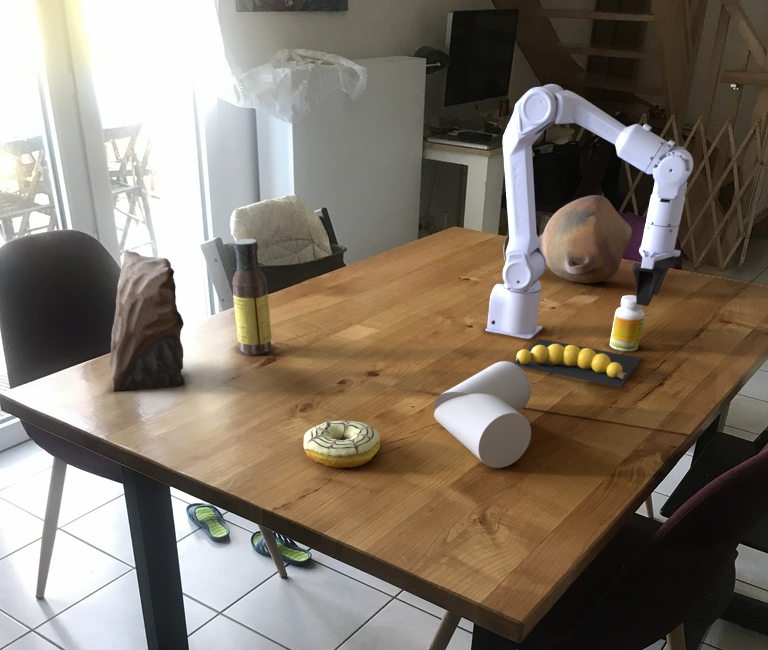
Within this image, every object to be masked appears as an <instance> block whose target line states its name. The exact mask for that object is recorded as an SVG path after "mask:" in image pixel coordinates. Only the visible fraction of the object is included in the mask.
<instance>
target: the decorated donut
mask: <svg viewBox="0 0 768 650" xmlns="http://www.w3.org/2000/svg"><path fill="white" fill-rule="evenodd" d="M380 439H381V438H380V432H379V431H377V429H376V428H374V427H373V426H371V425H369V424H367V423H366V422H363V421H356V420H355V421H353V420H330V421H325V422H323V423H321V424H318V425H315V426H313V427H312V428H310V429H309V430H307V431H306V432H305V434H304V435H303V449H304V452H305V454H306V456H307V457H308V458H310V459H311V460H314V461H315V463H319V464H321V465H322V464H323V465H324V466H326V467H331V468H337V469H343V468H356V467H359V466H363V465H365V464H367V463H368V462H370V461H371V460H372V459H373V458H374V456H375V455H376V454H377V453H378V451H379V449H380V446H381V445H380V444H381V440H380Z"/></svg>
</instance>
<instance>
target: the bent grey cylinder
mask: <svg viewBox="0 0 768 650" xmlns="http://www.w3.org/2000/svg"><path fill="white" fill-rule="evenodd" d="M530 381H531V380H530V379H529V376H528V374H526V372H525V371H524V369H522V367H519V366H518V365H516V364H514V362H511V361H506V360H504V361H503V360H502V361H498V362H495V363H493V364H492V365H490V366H488V367H486V368H485V369H483V370H481V371H479V372H477V373H476V374H474V375H472V376H471V377H468V378H466V379H465V380H464V381H462V382H460V383H458V384H456V385H455V386H453V387H451V388H450V389H448V390H446V391H444V392H443V393H441V394H439V395H438V396H437V397H436V398H435V400H434V408H435V410H434V414H433V416H434V417H433V418H434V419H435V420H436V422H437V423H438V424H440V425H441V426H442V427H443V428H444V429H445V430H446V431H448V433H450V434H451V435H452V436H453V437H454V438H455V439H456V440H458V441H459V442H460V443H461V444H462V445H463V446H464V447H465V448H467V449H468V450H469V451H470V452H471V453H472V454H473V455H474V456H475V457H477V459H479V460H480V461H481V462H482V463H483V464H485V466H488V467H489V468H493V469H502V468H505V467H508V466H510V465H512V464H513V463H516V462H517V461H518V460H519V459H520V458H521V457H522V456H523V454H524V453H525V452H526V451H527V448H528V447H529V445H530V442H531V439H532V438H531V437H532V427H531V425H530V421H529V420H528V419H527V418H526V416H524V415H523V414H521V413H520V411H521V410H522V409H524V408H525V407H526V406H527V405H528V403H529V401H530V399H531V394H532V385H531V382H530Z"/></svg>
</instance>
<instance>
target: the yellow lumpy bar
mask: <svg viewBox="0 0 768 650" xmlns="http://www.w3.org/2000/svg"><path fill="white" fill-rule="evenodd" d="M577 346H578V345H574V344H569V345H568V346H566V347H565V348H564V347H563V346H561V345H559V344H552V345H550V346H549V347H548V348H547V347H545V346H543V345H537V346H535V347H534V348H533V349H532V350H531V353H530V351H528V349H525V348H524V349H521V350H519V351H518V352H517V354H516V358H515V361H516V363H518V364H519V363H520V364H528V363H529V362H530V361H531V359H532V361H533V362H535V363H537V364H542V363H545V362H546V361H548V362H549V363H550V364H553V365H557V364H560V363H561V362H563V363H564V364H565V365H567V366H575V365H578V366H579V367H580V368H582V369H590V368H592V369H593V370H594V371H595V372H598V373H603V372H606V371H607V374H608V375H609V376H610V377H612V378H616V377H619V378H621V379H626V378H627V373H625V372H622V366H621V365H620V364H619V363H617V362H613V363H611V360H610V358H609V357H608V356H607V355H606V354H597V355H596V353H595V351H593V350H592V349H593V348H590V349H589V347H585V349H582V350H580V349H579V348H578V347H577ZM515 361H514V362H515Z"/></svg>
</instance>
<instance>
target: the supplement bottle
mask: <svg viewBox="0 0 768 650" xmlns="http://www.w3.org/2000/svg"><path fill="white" fill-rule="evenodd" d="M643 306H644V305H638V304H637V302H636V295H631V294H630V295H629V294H627V295H622V297H621V300H620V307H618V308H617V309H616V310H615V313H614V318H613V323H612V329H611V334H610V340H609V346H610V347H611V348H612V349H614V350H618V351H625V352H632V351H636V350H638V349H639V346H640V340H641V336H642V335H641V334H642V330H643V325H644V321H645V311H644V310H643V309H642V308H643Z"/></svg>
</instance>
